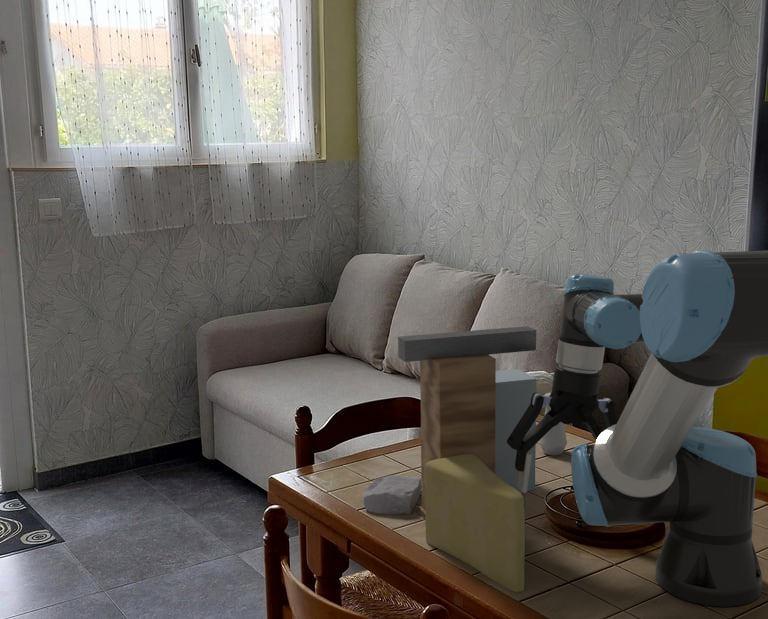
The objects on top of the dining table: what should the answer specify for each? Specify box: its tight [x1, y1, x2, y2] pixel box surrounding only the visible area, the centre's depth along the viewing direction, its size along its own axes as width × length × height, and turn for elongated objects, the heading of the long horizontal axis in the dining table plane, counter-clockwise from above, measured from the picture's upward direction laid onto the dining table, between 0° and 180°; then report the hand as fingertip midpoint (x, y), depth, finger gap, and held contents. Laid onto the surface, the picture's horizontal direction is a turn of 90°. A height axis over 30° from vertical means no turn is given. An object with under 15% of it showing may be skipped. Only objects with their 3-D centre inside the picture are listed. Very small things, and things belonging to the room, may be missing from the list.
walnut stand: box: [417, 354, 497, 520], centre depth 158 cm, size 11×11×30 cm
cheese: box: [424, 454, 526, 593], centre depth 144 cm, size 22×10×15 cm, turn 25°
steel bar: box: [397, 325, 537, 363], centre depth 156 cm, size 4×24×4 cm, turn 107°
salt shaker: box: [538, 392, 568, 457], centre depth 193 cm, size 6×6×13 cm
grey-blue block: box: [495, 368, 537, 493], centre depth 174 cm, size 8×14×22 cm, turn 107°
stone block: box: [363, 474, 422, 515], centre depth 170 cm, size 12×5×10 cm
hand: (560, 492), depth 152 cm, fingers open, 13 cm apart
